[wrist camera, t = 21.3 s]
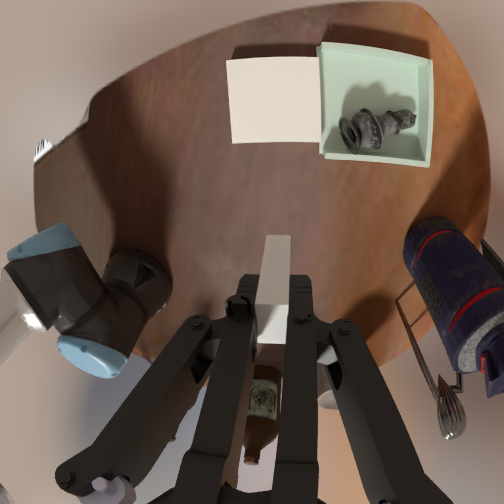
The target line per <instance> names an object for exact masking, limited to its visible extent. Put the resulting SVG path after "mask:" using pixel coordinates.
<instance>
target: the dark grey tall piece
mask: <svg viewBox="0 0 504 504" xmlns="http://www.w3.org/2000/svg"><path fill="white" fill-rule="evenodd" d="M416 117H417V115H415V114H413V113H412V112H411V111H410V110H408V109H403V110H399V111H395V112H393V111H391V110H388V111H386V113H385V114H381V115H374V114H373V113H372V112H371V111H370V110H369V109H366V108H363V109H361V110H360V112H357V113H356V114H355V115H354V116H353V117H352V119H351V121H350V120H348V119H347V118H346V117H340V118H339V130H340V133H341V136H342V139H343V141H344V143H345V145H346V147H347V148H348V150H349V151H350V152H351V153H352V154H354V155H357V154H358V153H359V151H360V146H362V147H363V148H366V149H377V150H379V149H381V147H382V146H383V137H385V136H386V135H390V134H393V133H394V134H399V133H400V131H401V130H404V129H408V128H411V127H413V126H414V125H415V119H416Z"/></svg>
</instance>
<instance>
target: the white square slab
mask: <svg viewBox="0 0 504 504" xmlns="http://www.w3.org/2000/svg"><path fill="white" fill-rule="evenodd" d="M226 64H227V78H228V92H229V105H230V118H231V131H232V143H252V142H321V95H320V72H319V57H262V58H247V59H236V60H227V61H226Z"/></svg>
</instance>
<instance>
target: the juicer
mask: <svg viewBox="0 0 504 504" xmlns="http://www.w3.org/2000/svg"><path fill="white" fill-rule="evenodd" d="M395 303H396V306H397V308H398V311H399V314H400V316H401V319H402V321H403V323H404V326H405V328H406V331H407V334H408V337H409V339H410V342H411V345H412V347H413V350H414V353H415V355H416V358H417V361H418V363H419V366H420V368H421V371H422V373H423V375H424V378H425V380H426V382H427V385H428V387H429V389H430V391H431V394H432V396H433V398H434V400H435V403H436V405H437V419H438V426H439V430H440V433H441V435H442V437H443V438H445V439H446V440H453V439H455V438H457V437H459V436H460V435H462V434H463V432H464V431H465V428H466V415H465V411H464V409H463V406H462V404H461V402H460V400H459V399H458V397H457V395H456V394H455V393H463V374H462V373H457V372H456V378H457V385H451V386H449V385H448V383H447V382H446V381H445V380H444V379H443V378H442V377H441V376H440V375H439V377H438V389H437V387H436V385H435V383H434V380H433V378H432V376H431V374H430V372H429V369H428V367H427V365H426V363H425V360H424V358H423V355H422V354H421V351H420V349H419V346H418V344H417V342H416V339H415V337H414V335H413V333H412V330H411V328H410V326H409V324H408V321H407V319H406V317H405V315H404V313H403V310H402V308H401V306H400V304H399V302H398V300H395Z"/></svg>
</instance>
